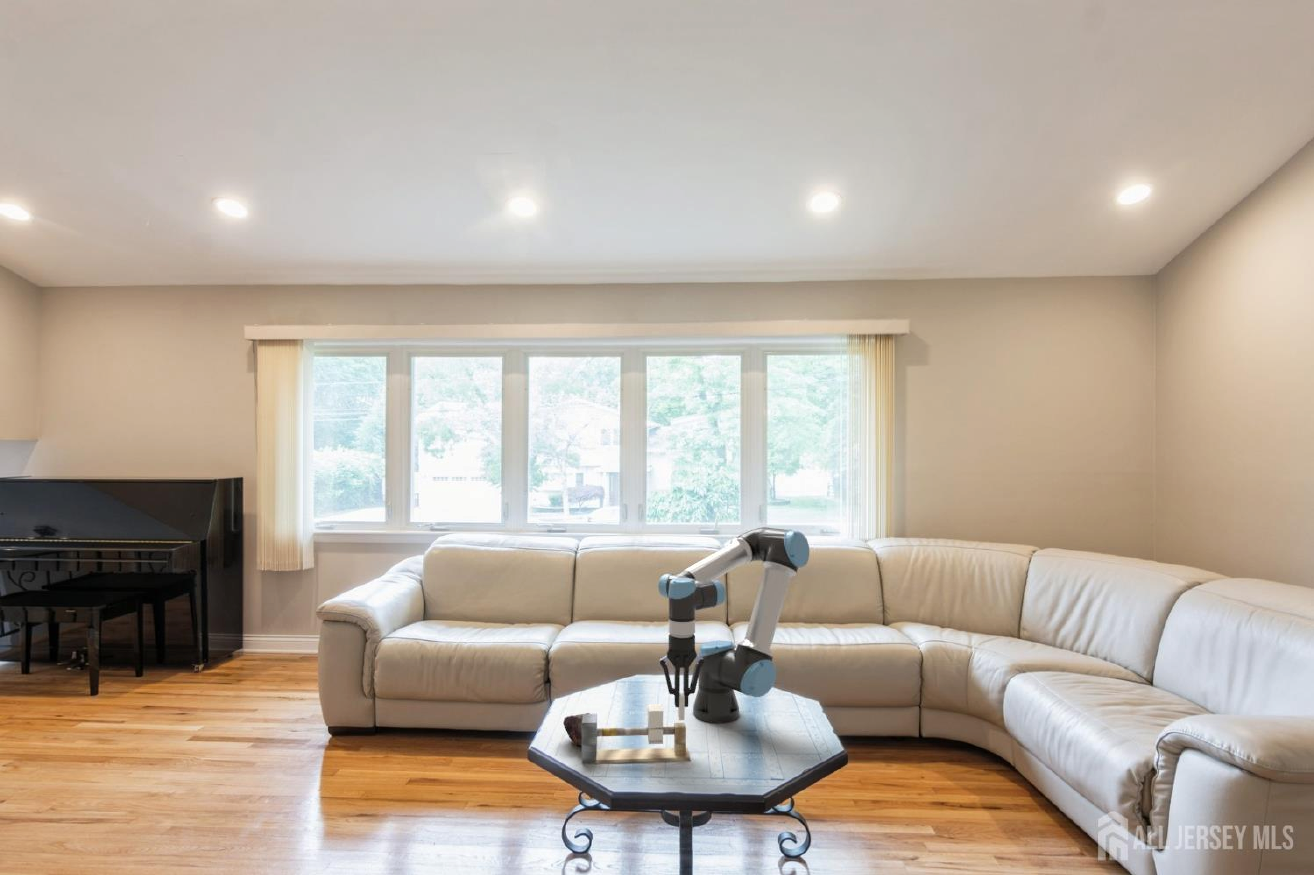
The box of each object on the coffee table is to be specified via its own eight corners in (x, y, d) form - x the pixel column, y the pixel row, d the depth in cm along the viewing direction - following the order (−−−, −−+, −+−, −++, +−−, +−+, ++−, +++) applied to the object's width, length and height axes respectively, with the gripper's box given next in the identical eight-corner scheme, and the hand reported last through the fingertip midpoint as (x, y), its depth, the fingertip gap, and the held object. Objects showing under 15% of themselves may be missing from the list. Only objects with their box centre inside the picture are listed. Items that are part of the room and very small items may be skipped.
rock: (596, 738, 189) (563, 738, 188) (597, 708, 191) (564, 708, 190) (596, 750, 178) (561, 750, 177) (597, 718, 179) (562, 718, 178)
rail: (687, 750, 179) (687, 711, 179) (690, 760, 173) (690, 720, 173) (582, 753, 177) (583, 713, 177) (581, 763, 171) (581, 722, 171)
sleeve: (661, 735, 178) (661, 703, 178) (663, 743, 173) (663, 711, 173) (647, 736, 178) (647, 704, 178) (648, 744, 173) (648, 711, 173)
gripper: (702, 630, 181) (702, 712, 180) (657, 630, 180) (657, 713, 179) (706, 637, 174) (706, 723, 173) (660, 638, 173) (659, 724, 172)
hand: (681, 718), depth 176 cm, fingers closed
